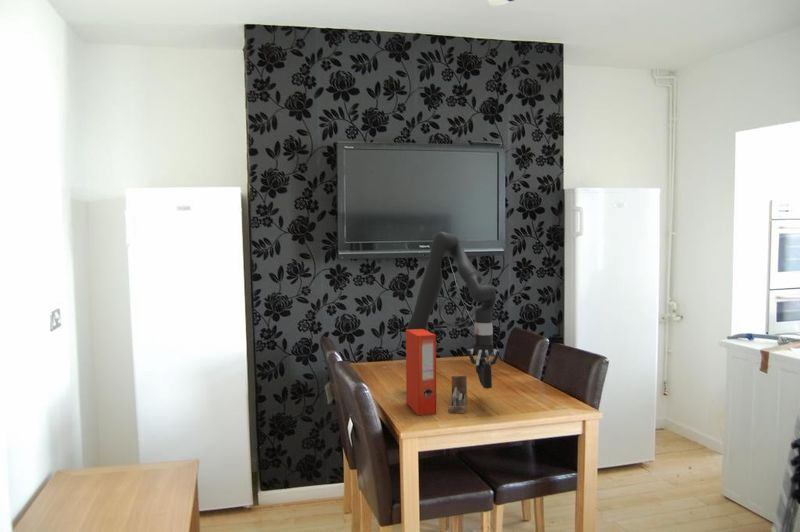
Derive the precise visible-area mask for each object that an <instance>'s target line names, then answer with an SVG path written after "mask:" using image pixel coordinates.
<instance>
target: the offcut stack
mask: <svg viewBox="0 0 800 532" xmlns="http://www.w3.org/2000/svg"><path fill="white" fill-rule="evenodd" d="M463 400H464V399H463V398H462V393H460V390H457V388H455V389H454V393H453V406H461V407H463Z"/></svg>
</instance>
